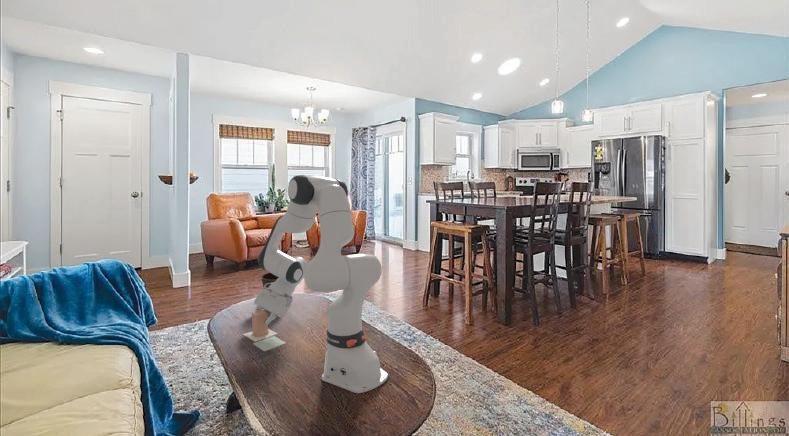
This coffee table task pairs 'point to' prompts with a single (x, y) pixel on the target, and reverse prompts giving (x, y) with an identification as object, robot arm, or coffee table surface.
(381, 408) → the coffee table surface
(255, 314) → the block
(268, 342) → the coaster
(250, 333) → the tile
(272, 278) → the plant pot
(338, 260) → the robot arm
